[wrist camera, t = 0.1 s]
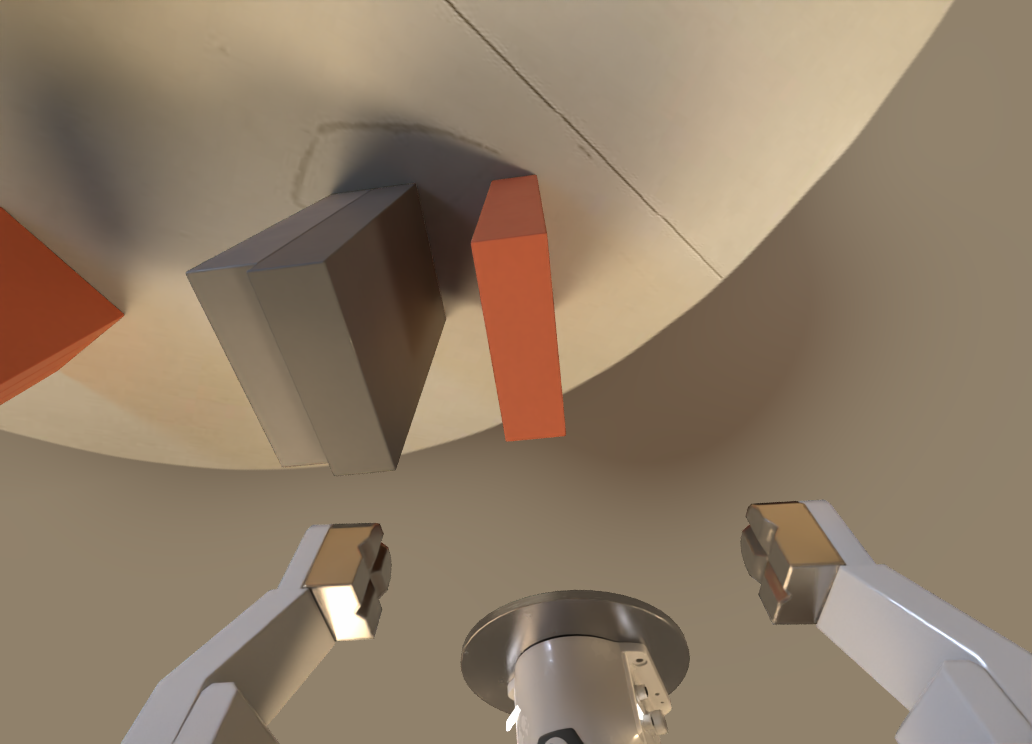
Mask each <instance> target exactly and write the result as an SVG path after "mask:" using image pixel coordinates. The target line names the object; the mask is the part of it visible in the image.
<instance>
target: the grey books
mask: <svg viewBox="0 0 1032 744" xmlns="http://www.w3.org/2000/svg"><path fill="white" fill-rule="evenodd" d="M186 276H187V278H188V280H189V282H190V284H191V286H192V288H193V290H194V292H195V294H196V296H197V298H198V300H199V302H200V304H201V306H202V308H203V310H204V312H205V314H206V316H207V318H208V320H209V322H210V324H211V326H212V328H213V330H214V332H215V334H216V336H217V338H218V340H219V342H220V344H221V346H222V348H223V350H224V352H225V354H226V356H227V358H228V360H229V362H230V364H231V366H232V368H233V370H234V372H235V374H236V376H237V378H238V380H239V382H240V384H241V386H242V388H243V390H244V392H245V394H246V396H247V398H248V400H249V402H250V404H251V406H252V408H253V410H254V412H255V414H256V416H257V418H258V420H259V422H260V424H261V426H262V428H263V430H264V432H265V434H266V436H267V438H268V440H269V442H270V444H271V446H272V448H273V450H274V452H275V454H276V456H277V458H278V460H279V462H280V464H281V466H282V467H291V466H302V465H313V464H323V463H329V466H330V468H331V470H332V473H333V475H334V476H343V475H353V474H363V473H375V472H386V471H395V470H396V468H397V464H398V462H399V458H400V456H401V453H402V450H403V447H404V444H405V441H406V438H407V435H408V432H409V429H410V426H411V423H412V420H413V417H414V414H415V411H416V408H417V405H418V402H419V399H420V396H421V393H422V390H423V387H424V384H425V381H426V378H427V375H428V372H429V369H430V366H431V363H432V360H433V357H434V354H435V351H436V348H437V345H438V342H439V339H440V336H441V333H442V330H443V327H444V324H445V321H446V316H445V312H444V307H443V303H442V298H441V294H440V289H439V285H438V280H437V276H436V271H435V267H434V262H433V258H432V253H431V249H430V244H429V240H428V235H427V231H426V226H425V222H424V217H423V213H422V208H421V204H420V199H419V195H418V190H417V186H416V183H412V184H404V185H397V186H390V187H383V188H375V189H368V190H361V191H354V192H346V193H339V194H332V195H329V196H327V197H325V198H323V199H321V200H319V201H318V202H316V203H314V204H312V205H310V206H308V207H306V208H304V209H303V210H301V211H299V212H297V213H295V214H293V215H291V216H290V217H288V218H286V219H284V220H282V221H280V222H278V223H276V224H275V225H273V226H271V227H269V228H267V229H265V230H263V231H261V232H260V233H258V234H256V235H254V236H252V237H250V238H248V239H246V240H245V241H243V242H241V243H239V244H237V245H235V246H233V247H231V248H230V249H228V250H226V251H224V252H222V253H220V254H218V255H217V256H215V257H213V258H211V259H209V260H207V261H205V262H203V263H202V264H200V265H198V266H196V267H194V268H192V269H190V270H188V271H187V272H186Z"/></svg>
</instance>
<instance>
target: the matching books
mask: <svg viewBox="0 0 1032 744" xmlns="http://www.w3.org/2000/svg"><path fill="white" fill-rule="evenodd" d="M123 316H124V314H123V313H122V312H121V311H120V310H119V309H117V308H116V307H115V306H114V305H113V304H112V303H111V302H109V301H108V300H107V299H106V298H105V297H104V296H102V295H101V294H100V293H99V292H98V291H97V290H96V289H94V288H93V287H92V286H91V285H90V284H89V283H88V282H86V281H85V280H84V279H83V278H82V277H81V276H79V275H78V274H77V273H76V272H75V271H74V270H73V269H71V268H70V267H69V266H68V265H67V264H66V263H65V262H63V261H62V260H61V259H60V258H59V257H58V256H57V255H55V254H54V253H53V252H52V251H51V250H50V249H48V248H47V247H46V246H45V245H44V244H43V243H42V242H40V241H39V240H38V239H37V238H36V237H35V236H34V235H32V234H31V233H30V232H29V231H28V230H27V229H26V228H24V227H23V226H22V225H21V224H20V223H19V222H17V221H16V220H15V219H14V218H13V217H12V216H11V215H9V214H8V213H7V212H6V211H5V210H4V209H3V208H1V207H0V405H1V404H3V403H5V402H6V401H8V400H10V399H11V398H13V397H15V396H16V395H18V394H20V393H21V392H23V391H25V390H26V389H28V388H30V387H31V386H33V385H35V384H36V383H38V382H40V381H41V380H43V379H45V378H46V377H48V376H50V375H51V374H53V373H55V372H56V371H58V370H59V369H60V368H61V367H63V366H64V365H65V364H66V363H67V362H69V361H70V360H71V359H72V358H73V357H75V356H76V355H77V354H78V353H79V352H81V351H82V350H83V349H84V348H86V347H87V346H88V345H89V344H90V343H92V342H93V341H94V340H95V339H96V338H98V337H99V336H100V335H101V334H103V333H104V332H105V331H106V330H107V329H109V328H110V327H111V326H112V325H113V324H115V323H116V322H117V321H118V320H120V319H121V318H122V317H123Z"/></svg>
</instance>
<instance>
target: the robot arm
mask: <svg viewBox="0 0 1032 744" xmlns="http://www.w3.org/2000/svg"><path fill="white" fill-rule="evenodd" d="M746 518H747V520H748V522H749V524H750V525H749V526H747V527H746V528H745V529H744V530H743V531H742V536H741V552H742V557H743V560H744V564H745V566H746V568H747V571H748V573H749V575H750V576H751V577H752V578H754V579H755V580H757V581H758V582H759V583H760V584H761V587H760V591H759V597H760V599H761V601H762V603H763V605H764V607H765V609H766V611H767V613H768V615H769V617H770V620H771V622H772V624H773V625H774V624H817V625H816V627H817V628H818V629H819V630H821V631H822V632H823V633H824V634H825V635H826V636H827V637H829V639H831V640H832V641H833V642H834V643H835V644H836V645H837V646H838V647H840V648H841V649H842V650H843V651H844V652H845V653H846V654H847V655H848V656H849V657H851V658H852V659H853V660H854V661H855V662H856V663H857V664H858V665H859V666H861V667H862V668H863V669H864V670H865V671H866V672H867V673H868V674H869V675H871V676H872V677H873V678H874V679H875V680H876V681H877V682H878V683H879V684H881V685H882V686H883V687H884V688H885V689H886V690H887V691H888V692H889V693H890V694H891V695H893V696H894V697H895V698H896V699H897V700H898V701H899V702H900V703H901V704H903V705H904V706H905V707H906V708H907V709H908V710H909V711H910V712H909V714H908V715H907V717H906V718H905V720H904V721H903V723H902V724H901V726H900V727H899V729H898V731H897V733H896V735H895V739H896V740H897V742H898V744H1032V653H1030V652H1028V651H1027V650H1025V649H1023V648H1021V647H1020V646H1018V645H1017V644H1015V643H1013V642H1012V641H1010V640H1009V639H1007V638H1005V637H1003V636H1002V635H1000V634H999V633H997V632H995V631H994V630H992V629H990V628H989V627H987V626H985V625H984V624H982V623H980V622H979V621H977V620H975V619H974V618H972V617H971V616H969V615H967V614H966V613H964V612H962V611H961V610H959V609H957V608H956V607H954V606H952V605H950V604H949V603H947V602H946V601H944V600H942V599H941V598H939V597H938V596H936V595H934V594H933V593H931V592H929V591H928V590H926V589H924V588H923V587H921V586H919V585H918V584H916V583H914V582H913V581H911V580H909V579H908V578H906V577H904V576H903V575H901V574H899V573H898V572H896V571H895V570H893V569H891V568H890V567H888V566H886V565H885V564H876V563H875V562H874V561H873V559H872V558H871V557H870V555H869V554H868V553H867V551H866V550H865V549H864V547H863V546H862V545H861V544H860V542H859V541H858V539H857V538H856V537H855V536H854V534H853V533H852V532H851V530H850V529H849V528H848V526H847V525H846V524H845V522H844V521H843V520H842V518H841V517H840V516H839V515H838V513H837V512H836V510H835V509H834V508H833V506H832V505H831V504H830V503H829V502H827V501H826V500H811V501H799V502H798V501H791V502H775V503H774V502H773V503H757V504H751V505H750V506H749V507H748V509H747V513H746ZM383 534H384V533H383V531H382V529H381V526H380V524H378V523H361V524H360V523H359V524H329V525H312V526H311V527H310V528H309V529H308V530H307V531H306V532H305V534H304V536H303V538H302V540H301V542H300V544H299V546H298V548H297V550H296V552H295V554H294V556H293V558H292V560H291V562H290V564H289V566H288V568H287V570H286V572H285V574H284V576H283V578H282V580H281V582H280V584H279V586H278V588H277V589H276V590H269V591H268V592H267V593H266V594H265V595H264V596H262V597H261V598H260V599H259V600H257V601H256V602H255V603H254V604H253V605H251V606H250V607H249V608H248V609H247V610H245V611H244V612H243V613H242V614H241V615H239V616H238V617H237V618H236V619H235V620H233V621H232V622H231V623H230V624H229V625H227V626H226V627H225V628H224V629H222V630H221V631H220V632H219V633H218V634H217V635H215V636H214V637H213V638H212V639H210V640H209V641H208V642H207V643H206V644H204V645H203V646H202V647H201V648H200V649H199V650H197V651H196V652H195V653H194V654H192V655H191V656H190V657H189V658H187V659H186V660H185V661H184V662H183V663H181V664H180V665H179V666H178V667H177V668H175V670H173V671H172V672H171V673H169V674H168V675H167V676H166V677H165V678H164V679H162V680H161V681H160V682H159V683H158V685H157V686H156V688H155V689H154V691H153V693H152V694H151V696H150V697H149V699H148V701H147V702H146V704H145V705H144V707H143V709H142V710H141V712H140V713H139V715H138V717H137V718H136V720H135V722H134V723H133V725H132V726H131V728H130V729H129V731H128V733H127V734H126V736H125V737H124V739H123V741H122V742H121V744H279V742H278V741H277V740H276V738H275V737H274V736H273V734H272V733H271V732H270V730H269V729H268V728H267V726H268V725H269V723H270V722H271V721H272V720H273V718H274V717H275V716H276V715H277V714H278V712H279V711H280V710H281V709H282V708H283V706H284V705H285V704H286V703H287V702H288V700H289V699H290V698H291V697H292V695H293V694H294V693H295V692H296V691H297V689H298V688H299V687H300V686H301V684H302V683H303V682H304V681H305V680H306V679H307V677H308V676H309V675H310V674H311V672H312V671H313V670H314V669H315V668H316V666H317V665H318V664H319V663H320V662H321V660H322V659H323V658H324V657H325V656H326V654H327V653H328V652H329V651H330V650H331V648H332V647H333V646H334V645H335V641H346V640H361V639H374V637H375V633H376V630H377V626H378V623H379V619H380V615H381V612H382V607H381V604H380V602H379V598H380V597H381V596H382V595H383V594H384V593H385V592H386V591H387V590H388V586H389V582H390V577H391V566H392V564H391V555H390V552H389V549H388V547H387V546H386V545H384V544H383V543H381V541H382V538H383ZM507 690H508V697H509V698H510V699H512V700H514V701H515V710H514V711H513V713H512V714H511V716H510V717H509V719H508V720H507V729H506V730H507V731H509V730H510V729H511V727H512V726H513V724H514V723H515V721H516V730H517V744H661V741H660V735H663V734H667V733H668V728H667V724H666V720H665V717H664V715H666V714H667V713H668V712H670V711H671V709H672V708H671V707H672V706H671V700H670V698H669V695H668V693H667V691H666V689H665V687H664V684H663V682H662V680H661V678H660V676H659V674H658V671H657V669H656V667H655V665H654V663H653V660H652V658H651V656H650V654H649V652H648V650H647V647H646V646H645V645H644V644H641V643H632V642H613V641H609V640H605V639H601V638H596V637H589V636H567V637H560V638H554V639H550V640H547V641H544V642H541V643H539V644H536V645H534V646H532V647H531V648H529V649H528V650H526V651H525V652H524V653H523V654H522V655H521V656H520V657H519V659H518V660H517V662H516V665H515V676H514V678H513V679H512V680H511V682H510V683H509V684H508V686H507Z"/></svg>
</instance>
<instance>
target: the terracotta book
mask: <svg viewBox="0 0 1032 744" xmlns="http://www.w3.org/2000/svg"><path fill="white" fill-rule="evenodd" d="M471 248H472V253H473V259H474V265H475V270H476V276H477V282H478V287H479V293H480V298H481V304H482V310H483V315H484V321H485V327H486V332H487V338H488V343H489V349H490V355H491V360H492V366H493V372H494V377H495V383H496V388H497V394H498V400H499V405H500V411H501V417H502V422H503V428H504V433H505V439H506V441H517V440H527V439H538V438H549V437H559V436H566V429H565V418H564V407H563V397H562V386H561V376H560V365H559V355H558V344H557V334H556V323H555V313H554V302H553V292H552V281H551V271H550V260H549V250H548V239H547V231H546V225H545V220H544V214H543V208H542V203H541V197H540V191H539V185H538V180H537V175H529V176H522V177H515V178H507V179H500V180H493V181H492V182H491V185H490V188H489V191H488V194H487V197H486V200H485V203H484V206H483V208H482V211H481V214H480V217H479V220H478V223H477V226H476V229H475V232H474V235H473V238H472V241H471Z"/></svg>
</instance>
